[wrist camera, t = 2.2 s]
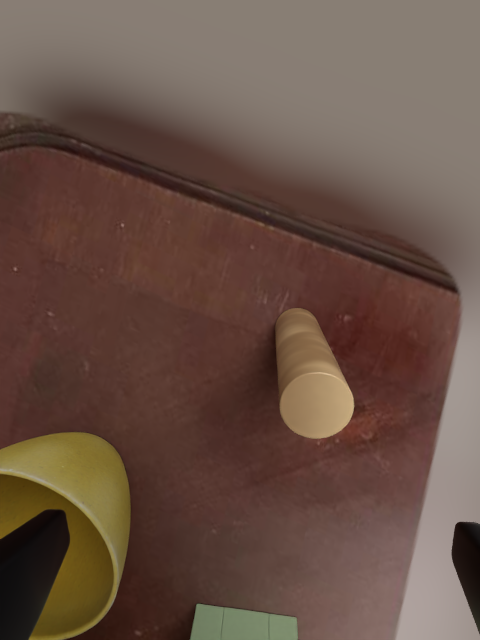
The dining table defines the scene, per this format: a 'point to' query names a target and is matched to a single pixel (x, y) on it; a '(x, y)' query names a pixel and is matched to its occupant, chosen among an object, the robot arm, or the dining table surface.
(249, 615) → the peg board
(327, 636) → the dining table surface
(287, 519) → the dining table surface
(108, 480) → the flower pot
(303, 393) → the peg
